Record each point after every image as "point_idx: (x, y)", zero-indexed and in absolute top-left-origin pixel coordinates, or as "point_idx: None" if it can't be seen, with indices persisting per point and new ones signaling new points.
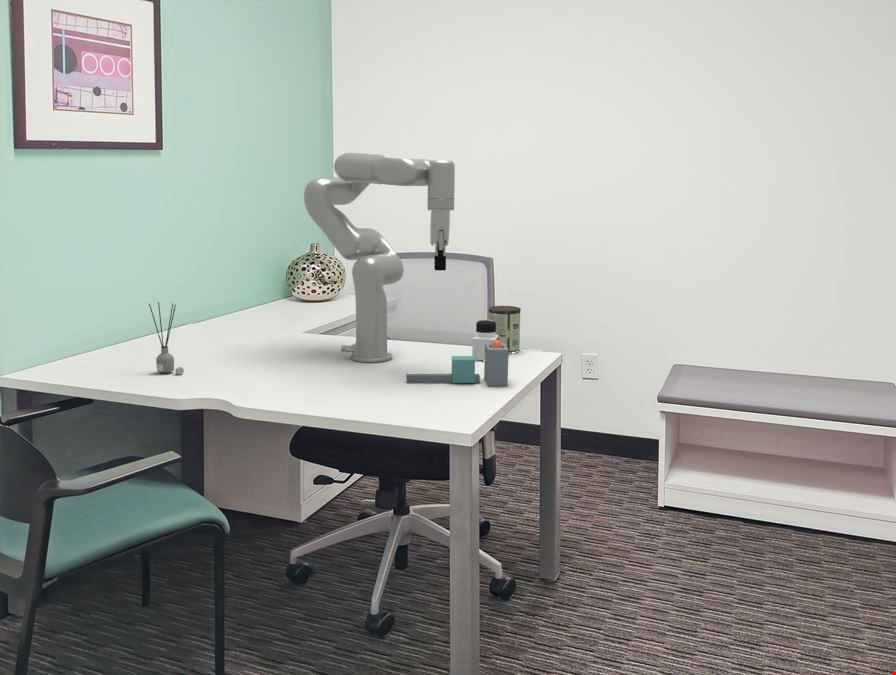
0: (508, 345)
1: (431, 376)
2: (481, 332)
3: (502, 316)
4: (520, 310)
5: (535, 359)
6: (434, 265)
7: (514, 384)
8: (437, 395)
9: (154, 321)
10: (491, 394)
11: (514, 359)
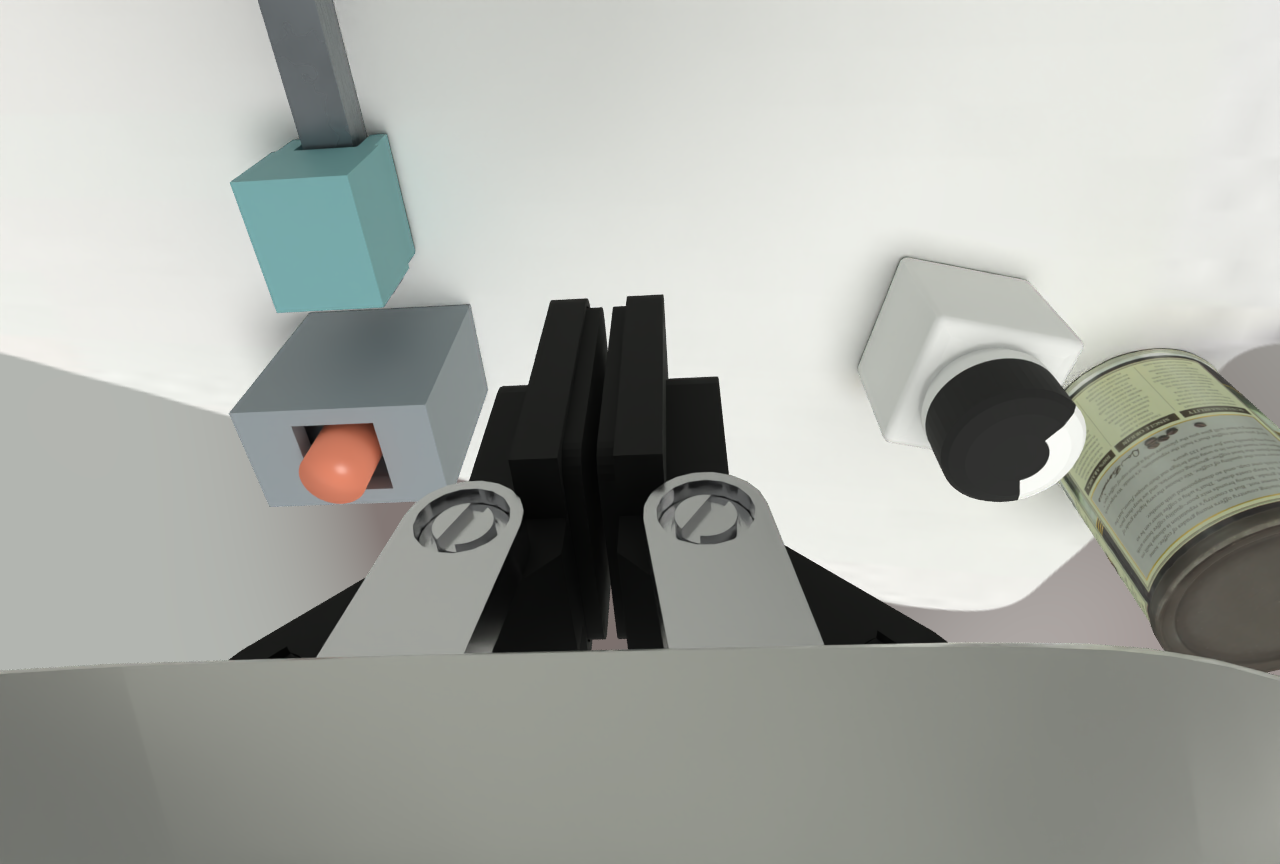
0: None
1: (263, 10)
2: (942, 388)
3: (1153, 555)
4: None
5: (899, 537)
6: (625, 329)
7: None
8: (11, 52)
9: None
10: (158, 324)
11: (910, 457)
